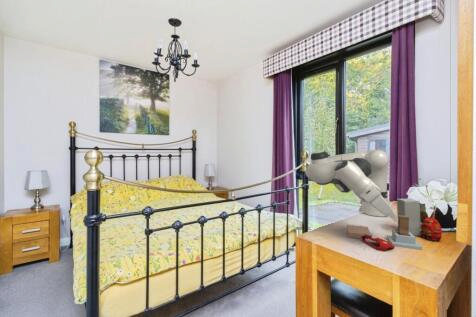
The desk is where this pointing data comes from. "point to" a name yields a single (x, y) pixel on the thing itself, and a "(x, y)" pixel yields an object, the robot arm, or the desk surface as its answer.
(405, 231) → the post
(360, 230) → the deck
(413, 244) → the grey square socket base
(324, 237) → the desk surface
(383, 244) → the tracker holder
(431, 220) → the red clay folk toy
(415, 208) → the skincare box
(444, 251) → the desk surface
